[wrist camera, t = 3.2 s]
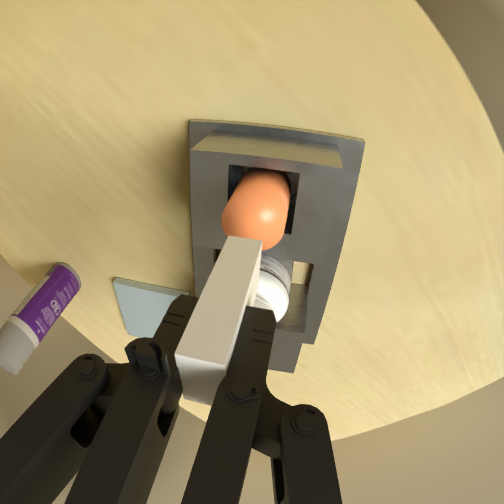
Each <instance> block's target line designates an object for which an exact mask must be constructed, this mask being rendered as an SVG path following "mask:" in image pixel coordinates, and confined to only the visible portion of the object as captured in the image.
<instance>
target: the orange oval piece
mask: <svg viewBox="0 0 504 504" xmlns="http://www.w3.org/2000/svg"><path fill="white" fill-rule="evenodd" d="M291 189H292V188H291V182H290V179H289V177H288V176H287V174H286V173H285V172H284V171H281V170H274V169H266V168H258V167H251V168H249V169H248V170H247V171H246V172H245V173H244V175H243V177H242V178H241V180H240V182H239V184H238V185H237V187H236V189H235V191H234V193H233V194H232V196H231V198H230V200H229V201H228V203H227V205H226V207H225V209H224V211H223V213H222V219H221V222H222V228H223V231H224V233H225V235H226V236H227V237H228V236H236V237H242V238H249V239H255V240H262V251H263V250H267V249H270V248H272V247H273V246H275V245H276V244H277V243H278V242H279V241H280V240H281V238H282V236H283V234H284V230H285V224H286V219H287V213H288V208H289V202H290V196H291Z"/></svg>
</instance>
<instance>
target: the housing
mask: <svg viewBox="0 0 504 504" xmlns="http://www.w3.org/2000/svg"><path fill="white" fill-rule="evenodd" d="M364 146H365V141H364V139H359V138H354V137H348V136H343V135H337V134H331V133H325V132H319V131H312V130H306V129H298V128H291V127H283V126H275V125H266V124H256V123H245V122H233V121H219V120H202V119H192V120H190V121H189V157H190V200H191V226H192V247H193V265H194V281H195V295H196V297H199V298H200V296H201V294H202V291H203V289H204V287H205V285H206V283H207V281H208V278H209V276H210V274H211V272H212V270H213V268H214V266H215V263H216V249H221V250H222V248H223V246H224V244H225V242H226V240H227V238H228V237H227V236H226V235H225V233H224V231H223V228H222V222H221V219H222V213H223V211H224V209H225V207H226V205H227V203H228V201H229V200H230V198H231V196H232V194H233V193H234V191H235V189H236V187H237V185H238V184H239V182H240V180H241V178H242V177H243V175H244V173H245V172H246V171H247V170H248V169H249V168H251V167H258V168H266V169H274V170H281V171H284V172H285V173H286V174H287V176H288V177H289V179H290V182H291V188H292V189H291V196H290V202H289V208H288V213H287V219H286V224H285V230H284V234H283V236H282V238H281V240H280V241H279V242H278V243H277V244H276V245H275V246H273V247H272V248H270V249H267V250H263V251H262V252H261V256H266V257H272V258H279V259H285V260H292V261H298V262H304V263H311V264H313V268H312V273H311V277H310V282H309V286H305V285H299V284H292V283H291V288H290V296H289V303H288V308H287V310H286V313H285V314H284V316H283V317H282V318H281V319H280V320H279V321H278V322H277V323H276V327H275V333H274V339H273V344H272V350H271V355H270V360H269V366H268V369H270V370H276V371H282V372H289V373H294V370H295V367H296V363H297V360H298V356H299V353H300V349H301V346H302V343H306V344H313V345H314V342H315V339H316V336H317V333H318V330H319V326H320V323H321V320H322V317H323V313H324V310H325V307H326V303H327V300H328V296H329V293H330V290H331V286H332V282H333V279H334V275H335V272H336V268H337V264H338V261H339V257H340V253H341V249H342V245H343V241H344V237H345V233H346V229H347V225H348V221H349V217H350V213H351V208H352V204H353V200H354V195H355V191H356V186H357V181H358V177H359V172H360V167H361V162H362V157H363V152H364Z"/></svg>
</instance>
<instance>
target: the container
mask: <svg viewBox="0 0 504 504" xmlns="http://www.w3.org/2000/svg"><path fill="white" fill-rule="evenodd" d="M80 288H81V281H80V278H79V276H78V274H77V273H76V272H75V271H74V269H72V268H71V267H70V266H69V265H67V264H65V263H61V262H59V263H56V264H55V265H54V266H53V267H52V269H51V270H50V271H49V272H48V273H47V274H46V275H45V276H44V277H43V278H42V279H41V281H40V282H39V283H38V284H37V285H36V286H35V287H34V288H33V290H32V291H31V292H30V293H29V294H28V295H27V296H26V298H25V299H24V300H23V301H22V302H21V304H20V305H19V306H18V307H17V308H16V310H15V311H14V312H13V313H12V314H11V316H10V317H9V318H8V320H7V321H6V322H5V324H4V325H3V326H2V328H1V329H0V365H1V366H2V367H4V368H5V369H6V370H7V371H9V372H10V373H12V374H14V375H17V374H18V372H19V371H20V369H21V368H22V366H23V365H24V364H25V362H26V361H27V359H28V358H29V357H30V355H31V354H32V353H33V351H34V350H35V348H36V347H37V346H38V345H39V343H40V342H41V340H42V339H43V337H44V336H45V335H46V333H47V332H48V330H49V329H50V328H51V326H52V325H53V324H54V322H55V321H56V319H57V318H58V317H59V316H60V314H61V313H62V312H63V310H64V309H65V308H66V306H67V305H68V304H69V302H70V301H71V300H72V298H73V297H74V296H75V295H76V293H77V292H78V291H79V289H80Z"/></svg>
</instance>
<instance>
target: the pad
mask: <svg viewBox="0 0 504 504" xmlns="http://www.w3.org/2000/svg"><path fill="white" fill-rule="evenodd" d="M113 285H114V289H115V293H116V296H117V300H118V303H119V307H120V310H121V313H122V317H123V320H124V323H125V326H126V329H127V333H128V334H129V335H132V336H136V337H140V338H143V337H148V338H153V336H154V334H155V332H156V330H157V328H158V327H159V325H160V323H161V322H162V319H163V317H164V315H165V314H166V311H167V310H168V308H169V306H170V304H171V302H172V301H173V300H175V299H176V298H177V297H178V296H180V295H181V294H184V295H189V292H185V291H180V290H175V289H170V288H165V287H160V286H156V285H151V284H146V283H141V282H137V281H132V280H127V279H123V278H118V277H117V278H116V279H115V280H114V282H113Z"/></svg>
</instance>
